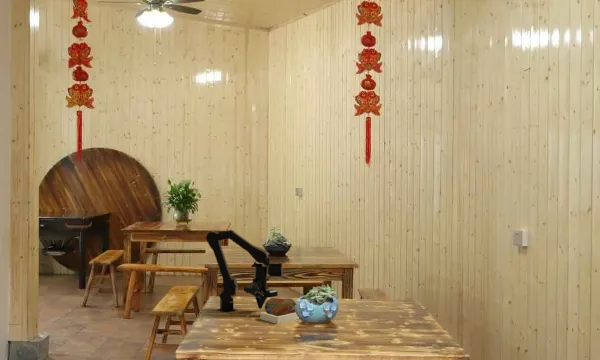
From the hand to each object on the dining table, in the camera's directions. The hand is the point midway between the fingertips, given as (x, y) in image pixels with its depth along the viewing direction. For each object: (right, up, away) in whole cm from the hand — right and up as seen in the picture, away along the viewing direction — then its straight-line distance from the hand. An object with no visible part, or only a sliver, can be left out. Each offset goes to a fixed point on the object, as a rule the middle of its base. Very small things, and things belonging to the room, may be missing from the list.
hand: (260, 308), depth 281 cm
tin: (+10, -2, -8) cm, 13 cm away
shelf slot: (+12, -2, -12) cm, 17 cm away
